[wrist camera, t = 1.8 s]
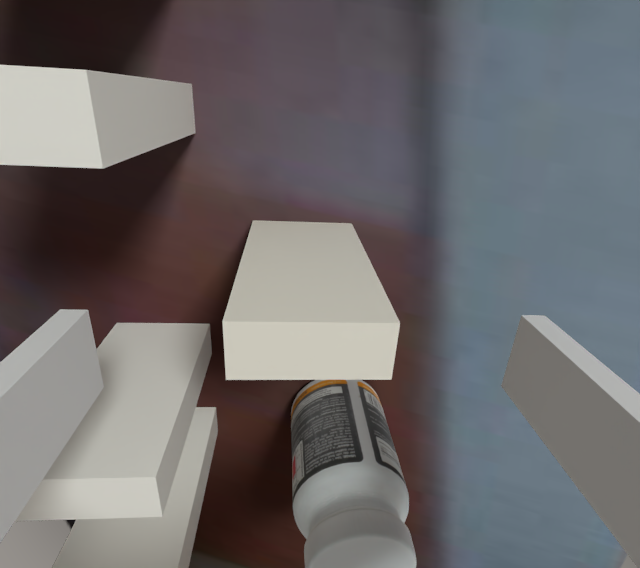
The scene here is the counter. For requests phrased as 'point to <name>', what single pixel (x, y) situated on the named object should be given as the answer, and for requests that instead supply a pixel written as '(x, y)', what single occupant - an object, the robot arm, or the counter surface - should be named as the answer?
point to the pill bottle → (347, 479)
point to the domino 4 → (308, 307)
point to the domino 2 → (129, 427)
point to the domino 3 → (151, 532)
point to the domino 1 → (87, 116)
